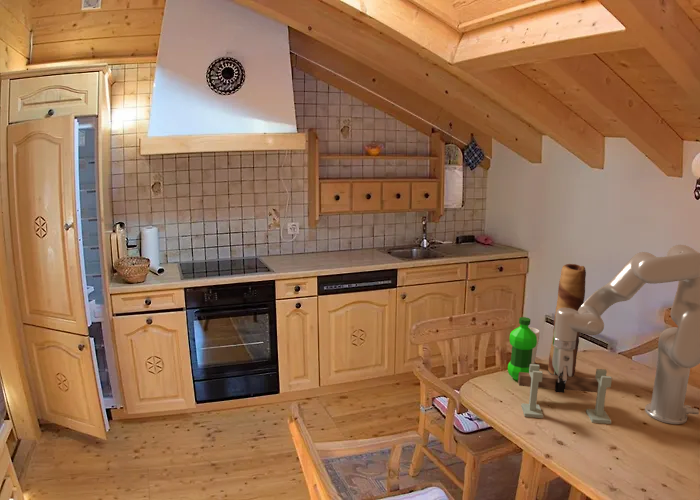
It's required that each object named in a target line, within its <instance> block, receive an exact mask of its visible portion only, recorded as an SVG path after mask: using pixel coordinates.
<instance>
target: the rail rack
mask: <svg viewBox="0 0 700 500" xmlns="http://www.w3.org/2000/svg"><path fill="white" fill-rule="evenodd" d="M607 372H608V371H607V370H606V369H605V368H604V369H603V368H596V370H595V377H594V378H596V380H597V381H598V391H597V393H596V398H595V399H596V400H595V408H586V409H585V410H586V411H585V412H586V414H587V416H588V418H589V420H590V422H591V423H593V424H595V423H596V424H604V425H605V424H606V425H612V420H611V418H610V417H609V415H608V413H607V411H606V410H605V402H606V393H607V388H611V387H612V381H613V378H612V376H610V375H609V376H608V375H607ZM529 374H530V376H531V387H529V388H530V389H529V399H528V400H529V401H528V403H523V402H521V404H520V407H521V410H522V412H523V413H522V414H523V416H524V417H527V418H536V419H543V418H544V414H543V411H542V409H541V407H540V404H537V400H538V392H539V387H538V383H539V382H542V375H543V374H544V373H543V371H542V370H540V364H536V363H535V364H530V368H529Z"/></svg>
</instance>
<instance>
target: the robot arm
mask: <svg viewBox="0 0 700 500" xmlns="http://www.w3.org/2000/svg"><path fill="white" fill-rule="evenodd" d="M673 282H678V283H677V287H676V288H677V289H676V291H675V296H674V299H673V302H672V304H671V305H672V306H671V309H670V317H671V320H672V321H673V323H675V325H676V326H672V327H671V326H670V327H668V328H666V329H664V330H663V331H662V332H661V333H660V335H659V338H658V345H657V348H658V349H657V364H656V369H655V376H654V382H653V388H652V389H653V390H652V394H651V401H650V403H649V402H648V403H647V404H646V405H645V407H644V412H645V413H646V414H647V415H648V416H649V417H651V418H653V419H654V420H657V421H659V422H662V423H665V424H671V425H681V424H685V423H686V422H687V421H688V415H689V414H690V415H699V412H700V411H699V409H698V408H695V407H694V408H692V406H691V405H689V404H688V405H687V404H685V402H686V401H685V400H686V396H687V394H686V393H687V389H688V382H689V378H690V371H691V368H695V367H697V366H698V365H700V252H699V251H697V250H695V249H694V248H692V247H690V246H688V245H686V244H676V245H673V246H672V247H670V248H669V249H668V252H667V254H666V256H659V257H657V256H655V255H654V254H653V253H649V252H646V251H641V252H637V253H636V254H634V255H633V256H632V257H631V258H630V259H629V260H628V261H627V262H626V263H625V264H624V266H622V268H621V269H620V270H619V271H618V272H617V273H616V274H615V275H614V276H613V277H612V279H610V280H609V281H608V283H606V284H604V285H603V286H601V287H600V288H598V289H597V290H595V291H594V292H593V293H592V294H591V295H590V296H588V298H586V300H584V303H583V304H582V305H581V306H580V308H579V309H578V311H576V310H574V309H571V308H559V309H558V310H557V312H556V311H555V313H556V319H555V327H554V326H553V329H554V336H553V335H552V338H553V344H552V343H551V344H552V345H553V346H554V352H553V359H552V365H553V368H554V375H558V376H557V381H556V385H555V389H554V392H555V393H559V394H561V393H562V394H564V393H565V392H566V390H565V384H566V381H567V374H568V376H569V377H571V376H572V370H573V350H574V349H575V345H576V337H577V332H580V333H581V334H585V335H588V336H597V335H600V334H601V333H602V332H603V331H604V329H605V323H604V320H603V318H602V315H603V314H604V313H605V312H606V311H607V310H608V309H609V308H610V307H611V306H613V305H615V304H616V303H620V302H621V303H622V302H628V301H630V300H631V299H632V298H633V297H634V296H635V295H636V294H637V293H638V292H639V291H640V290H641V289H642V288H643V287H644V285H645V284H649V285H650V284H653V285H655V284H663V283H664V284H665V283H673ZM580 333H579V334H580ZM560 376H562V378H560Z"/></svg>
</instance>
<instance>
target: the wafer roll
mask: <svg viewBox="0 0 700 500" xmlns="http://www.w3.org/2000/svg"><path fill="white" fill-rule="evenodd" d="M586 276H587V270H586V267H585V266H584V265H579V264H576V263H566V264H564V265H562V267H561V271H560V278H559V282H558V290H557V300H556V307H555V313H554V319H553V320H554V321H553V328H552V329H553V331H552V333H553V335H552V340H551V344H550V350H549V357H548V367H547V370H548V372H549V373H550V375H554V368H553V365H552V359H553V352H554V346H553V345H552V344H553V336H554V327H555V319H556V312H557V310H558V309H559V308H571V309H574V310H576V311H578V309H579V308H580V306H581V305H582V304H583V303H584V302H585V295H586ZM579 344H580V332H577V337H576V345H575V349H574V350H573V370H572V376H573V377H575V373H576V366H577V357H578V356H577V355H578V351H579ZM567 376H568V374H567Z"/></svg>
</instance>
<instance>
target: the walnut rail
mask: <svg viewBox="0 0 700 500" xmlns="http://www.w3.org/2000/svg"><path fill="white" fill-rule="evenodd" d="M557 376H558V375H553V374H547V373H543V375H542V382H539V383H538V389H539V388H541V389H550V390H551V389H554V390H555V385H556V381H557ZM560 378H562V376H560ZM517 383H518V385H519V386H520V387H528V388H531V376H530V374H529V373H525V372H519V376H518V381H517ZM565 391H576V392H586V393H596V394H597V391H598V381H597V380H596V378H595V377H582V376H571V377H569V376H567V381H566V384H565Z"/></svg>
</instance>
